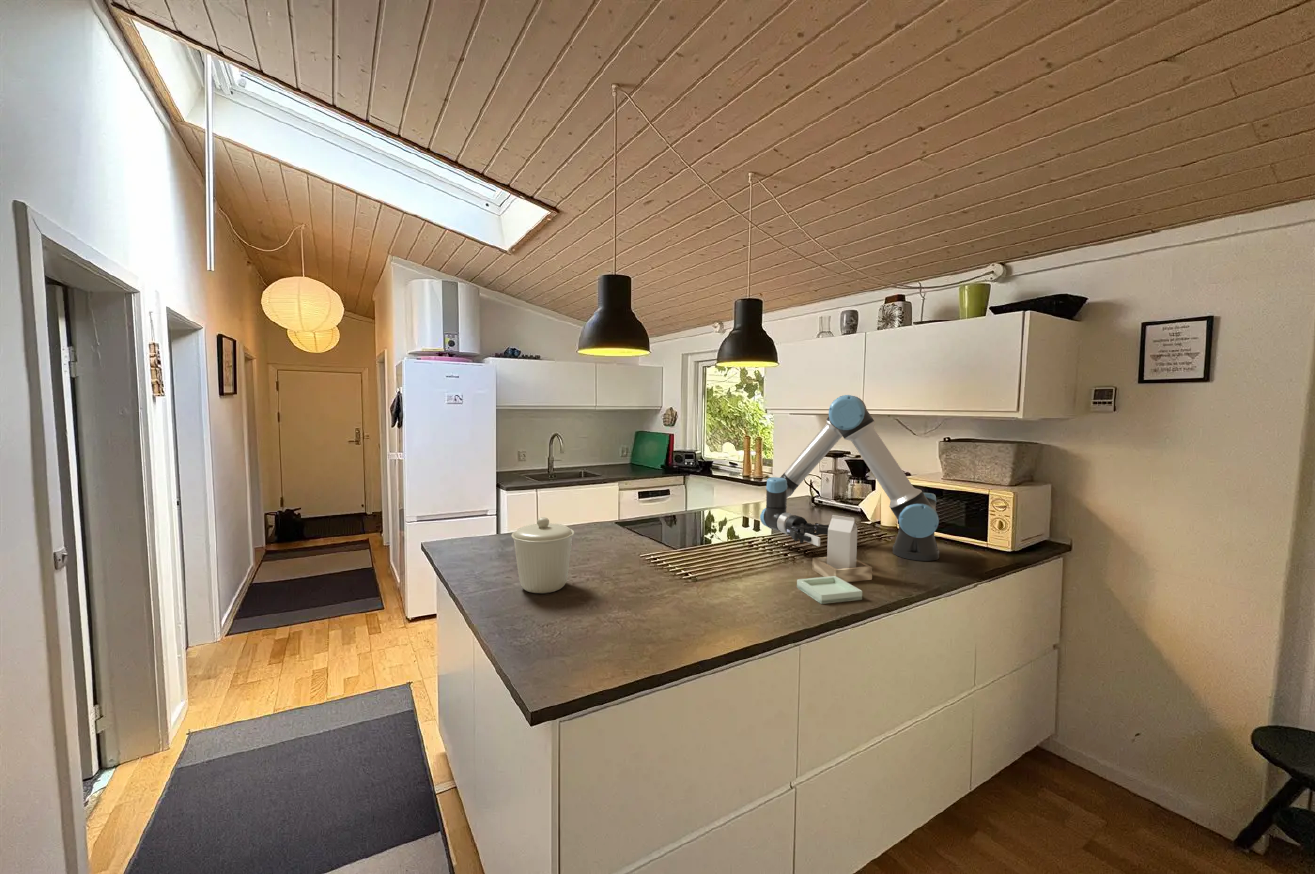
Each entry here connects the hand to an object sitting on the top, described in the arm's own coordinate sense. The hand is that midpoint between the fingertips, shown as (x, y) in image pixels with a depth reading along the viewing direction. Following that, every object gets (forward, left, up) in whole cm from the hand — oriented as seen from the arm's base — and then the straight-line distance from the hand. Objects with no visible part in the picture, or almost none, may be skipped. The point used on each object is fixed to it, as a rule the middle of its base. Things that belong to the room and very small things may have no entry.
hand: (835, 539), depth 171 cm
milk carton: (-1, +2, -11) cm, 11 cm away
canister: (+92, -10, -11) cm, 93 cm away
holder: (-1, +2, -11) cm, 11 cm away
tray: (+13, +16, -11) cm, 23 cm away
